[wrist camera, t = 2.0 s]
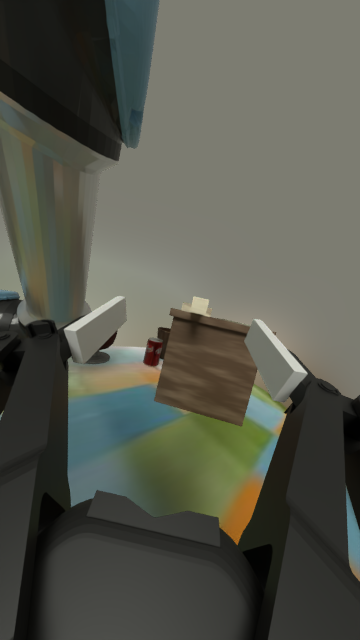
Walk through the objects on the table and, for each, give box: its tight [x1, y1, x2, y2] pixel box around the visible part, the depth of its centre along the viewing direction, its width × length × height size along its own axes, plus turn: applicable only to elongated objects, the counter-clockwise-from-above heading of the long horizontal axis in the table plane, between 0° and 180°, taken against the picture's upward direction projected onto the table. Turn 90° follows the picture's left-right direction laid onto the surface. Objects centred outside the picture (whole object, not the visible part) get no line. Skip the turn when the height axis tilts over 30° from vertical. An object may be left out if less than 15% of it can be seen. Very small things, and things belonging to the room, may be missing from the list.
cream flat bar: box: [181, 297, 212, 317], centre depth 39 cm, size 25×10×3 cm, turn 175°
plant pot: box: [157, 327, 171, 359], centre depth 80 cm, size 15×15×16 cm
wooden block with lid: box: [154, 308, 276, 426], centre depth 45 cm, size 15×28×28 cm, turn 85°
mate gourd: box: [86, 331, 117, 364], centre depth 59 cm, size 16×14×20 cm
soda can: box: [143, 338, 163, 367], centre depth 67 cm, size 7×7×12 cm
